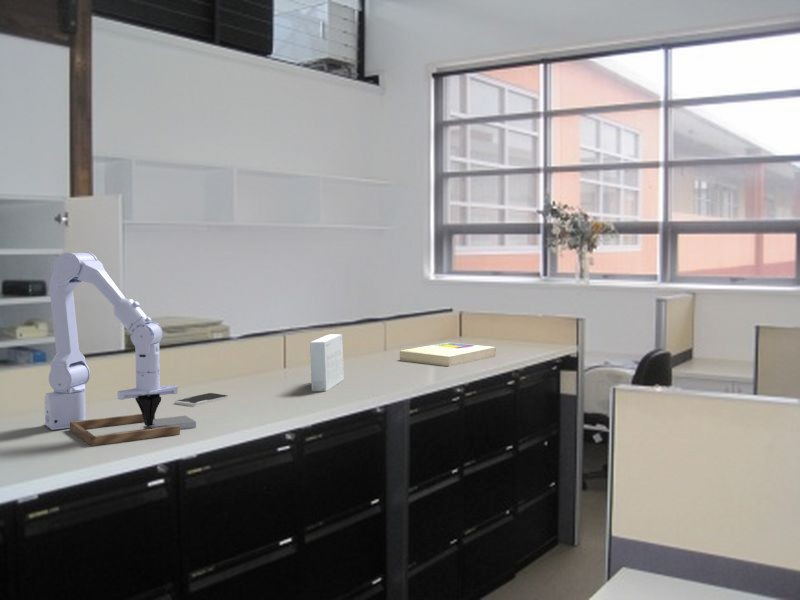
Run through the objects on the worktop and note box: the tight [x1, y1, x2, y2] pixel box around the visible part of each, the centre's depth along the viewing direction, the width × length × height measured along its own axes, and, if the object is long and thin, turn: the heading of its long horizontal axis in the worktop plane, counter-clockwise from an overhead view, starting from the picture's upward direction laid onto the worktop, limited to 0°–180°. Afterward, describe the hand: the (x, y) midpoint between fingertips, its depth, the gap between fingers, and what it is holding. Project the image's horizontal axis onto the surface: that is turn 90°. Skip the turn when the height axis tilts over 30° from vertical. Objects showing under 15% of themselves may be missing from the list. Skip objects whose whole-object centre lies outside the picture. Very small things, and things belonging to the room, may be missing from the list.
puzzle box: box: [399, 342, 497, 367], centre depth 335 cm, size 36×5×24 cm
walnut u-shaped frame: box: [69, 413, 181, 447], centre depth 203 cm, size 21×19×2 cm
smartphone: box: [174, 392, 229, 407], centre depth 243 cm, size 8×1×15 cm
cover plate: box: [148, 415, 197, 430], centre depth 210 cm, size 10×8×2 cm
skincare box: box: [309, 333, 345, 392], centre depth 270 cm, size 21×5×16 cm, turn 168°
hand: (148, 425), depth 207 cm, fingers closed
